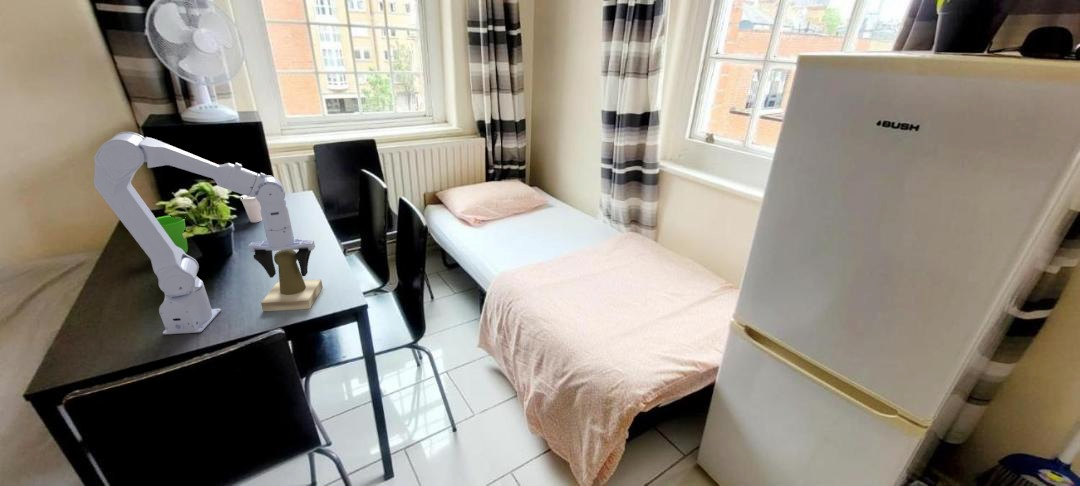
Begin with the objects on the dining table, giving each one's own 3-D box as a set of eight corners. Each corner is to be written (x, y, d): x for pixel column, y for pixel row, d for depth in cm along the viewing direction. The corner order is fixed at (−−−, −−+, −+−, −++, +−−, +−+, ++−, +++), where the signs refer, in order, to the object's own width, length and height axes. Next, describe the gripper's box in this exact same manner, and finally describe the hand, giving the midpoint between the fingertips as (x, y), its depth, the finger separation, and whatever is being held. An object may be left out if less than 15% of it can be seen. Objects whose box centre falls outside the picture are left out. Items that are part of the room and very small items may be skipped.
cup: (158, 251, 135) (146, 218, 131) (194, 244, 141) (184, 213, 136) (159, 261, 129) (147, 228, 125) (196, 254, 135) (186, 221, 130)
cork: (293, 296, 110) (284, 258, 105) (274, 292, 111) (264, 254, 107) (311, 285, 115) (303, 248, 111) (292, 281, 117) (284, 245, 112)
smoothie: (241, 222, 159) (232, 186, 153) (257, 216, 165) (248, 181, 159) (255, 224, 158) (246, 188, 152) (270, 219, 163) (261, 183, 157)
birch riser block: (310, 308, 110) (308, 300, 109) (263, 311, 108) (260, 302, 107) (322, 287, 119) (321, 279, 118) (279, 289, 118) (277, 281, 117)
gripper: (314, 219, 110) (323, 266, 115) (252, 221, 108) (264, 269, 113) (305, 230, 104) (315, 279, 109) (239, 232, 101) (253, 282, 107)
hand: (289, 275), depth 111 cm, fingers open, 7 cm apart
